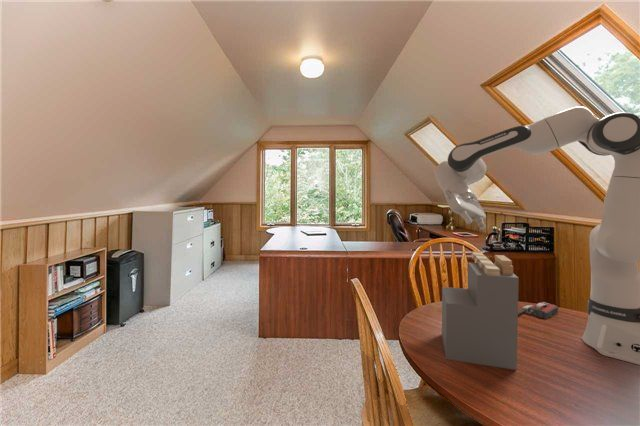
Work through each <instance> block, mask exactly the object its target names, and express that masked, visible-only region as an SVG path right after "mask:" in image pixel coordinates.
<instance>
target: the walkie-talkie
mask: <svg viewBox="0 0 640 426" xmlns="http://www.w3.org/2000/svg"><path fill="white" fill-rule="evenodd" d="M523 313H526V314H528V315H531V316H534V317H538V318H541V319H546V320H547V319H549V318H551V317H553V316H555V315H556V314H558V313H559V307H558V306H557V305H555V304H552V303H548V302H546V301H542V302H538V303H536V304H526V305H524V306H522V307H521V309H520V310H518V316H519V315H521V314H523Z"/></svg>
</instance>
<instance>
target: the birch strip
mask: <svg viewBox="0 0 640 426" xmlns="http://www.w3.org/2000/svg"><path fill="white" fill-rule="evenodd" d="M470 252H471V253H470V254H471V255H470V256H471V258H472V259H473V260H474V263H477V264H478V265H479V266H480V268H481V269H482V270H483V271H484V272H485V273H486V275H487V276H500V269H499V268H498V267H497V266H496V265H495V264H494V263H493V262H492V260H490V258H488V257H487V256H486V255H485V254H484V253H483V252H482V251H473V250H472V251H470Z"/></svg>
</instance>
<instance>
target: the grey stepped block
mask: <svg viewBox="0 0 640 426" xmlns="http://www.w3.org/2000/svg"><path fill="white" fill-rule="evenodd" d="M493 264H495V265H496V266H497V267H498V268H499V269H500V276H487V275H486V273H485V272H484V271H483V270H482V269H481V268H480V266H479V265H478V264H477V263H476V262H470V261H469V262H468V263H467V288H464V287H463V288H461V287H450V286H442V287H441V337H442V338H441V339H442V344H443V350H444V355H445V360H450V361H456V362H462V363H467V364H475V365H481V366H487V367H488V366H489V367H494V368H502V369H507V370H515V371H517V370H518V369H517V367H518V364H517V363H518V362H517V360H518V331H519V330H518V327H519V325H518V323H519V319H518V318H519V315H518V311H519V281H520V280H519V279H520V278H519V276H517V275H516V274H515V273H514V265H512V264H513V260H511V259H510V258H509V257H507V256H506V255H504V254H502V255H501V254H495V255H494V263H493Z"/></svg>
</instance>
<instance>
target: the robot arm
mask: <svg viewBox="0 0 640 426" xmlns="http://www.w3.org/2000/svg"><path fill="white" fill-rule="evenodd" d="M575 142H578V143H579V144H580V145H582V146H583V147H584V148H585V149H586V150H587V151H588V152H590V153H591V154H595V155H596V156H604V157H605V156H611V157H613V160H614V167H613V170H612V173H611V177H610V180H609V183H608V187H607V189H606V193H605V195H604V196H605V197H604V200H603V206H602V207H603V208H602V215H601V222H600V223H599V224H598V225H596V226H595V227H593V228H592V230H591V231H590V233H589V237H588V238H589V240H588V242H589V243H588V244H589V245H588V246H589V264H590V265H589V266H590V296H589V297H588V300H587V316H588V318H587V322H586V323H587V324H586V327H585V330H584V332H583V335H582V337H581V339H582V341H583V343H585V344H586V345H587V346H590V348H593V349H594V350H596V351H597V352H598V353H600V354H601V355H602V356H605V357H610V358H612V359H615V360H621V361H624V362H627V363H632V364H635V365H638V366H640V268H639V262H640V116H638V115H636V114H634V113H631V112H627V111H626V112H615V113H611V114H608V115H606V116H604V117H602V118H598V117H596V116H595V114H594V113H593V112H592V111H591V109H589V108H587V107H586V106H574V107H571V108H567V109H565V110H561V111H560V112H557V113H553V114H550V115H549V116H546V117H544V118H542V119H539V120H538V121H535V122H533V123H529V124H526V125H518V126H514V127H511V128H508V129H504V130H502V131H500V132H496V133H494V134H491V135H489V136H485V137H483V138H480V139H478V140H475V141H472V142H471V141H470V142H464V143H461V144H458V145H456V146H455V147H454V148H453V149H451V151H450V152H449V154H448V156H447V160H444V161H441V162H440V163H439V164H438V165H437V166H436V167H435V169H434V177H435V179H436V183H437V184H438V186H439V188H440V189H441V190H442V191H443V196H444V197H445V201H446V202H447V206H448V207H449V209H450V210H451V212H453V213H454V214H457V215H459V216H460V217H461V218H462V220H464V222H465V224H467V225H470V224H472V223H473V222H474V221H475V222H476V224H477V227H478V228H479V229H480V230H484V229H485V228H486V227H487V226H486V225H485V223H484V220H486V219H487V215H486V212H485V211H484V209H483V207H482V206H481V203H479V198H478V196H477V195H475V193H473V192H472V190H471V188H469V186H470V185H472V184H474V183H477V182H479V181H480V180H483V178H485V176H486V174H487V172H488V171H487V170H488V166H487V164H486V163H485V161H484V160H483V159H482V158H484V157H487V156H490V155H493V154H495V153H499V152H501V151H504V150H509V149H515V150H519V151H521V152H524V153H526V154H529V155H534V156H538V155H542V154H546V153H550V152H551V151H555V150H556V149H557V150H558V149H559V148H562V147H563V146H567V145H569V144H571V143H575Z"/></svg>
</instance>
